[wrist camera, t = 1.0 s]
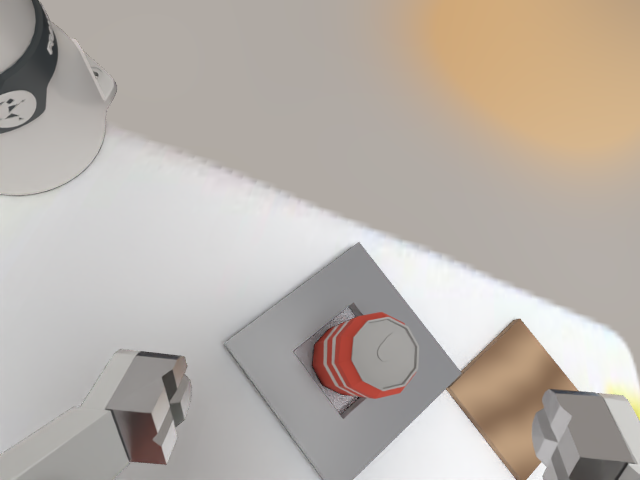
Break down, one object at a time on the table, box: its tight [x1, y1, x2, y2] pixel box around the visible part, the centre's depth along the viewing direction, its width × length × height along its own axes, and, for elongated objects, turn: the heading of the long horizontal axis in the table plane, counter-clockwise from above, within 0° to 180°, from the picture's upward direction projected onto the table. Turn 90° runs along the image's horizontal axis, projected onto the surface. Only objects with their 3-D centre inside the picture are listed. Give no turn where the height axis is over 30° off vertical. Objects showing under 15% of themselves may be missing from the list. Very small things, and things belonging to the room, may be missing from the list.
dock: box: [224, 242, 462, 480], centre depth 44 cm, size 16×16×2 cm
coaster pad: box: [446, 319, 578, 480], centre depth 47 cm, size 11×11×1 cm
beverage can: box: [312, 312, 419, 399], centre depth 39 cm, size 6×6×12 cm
